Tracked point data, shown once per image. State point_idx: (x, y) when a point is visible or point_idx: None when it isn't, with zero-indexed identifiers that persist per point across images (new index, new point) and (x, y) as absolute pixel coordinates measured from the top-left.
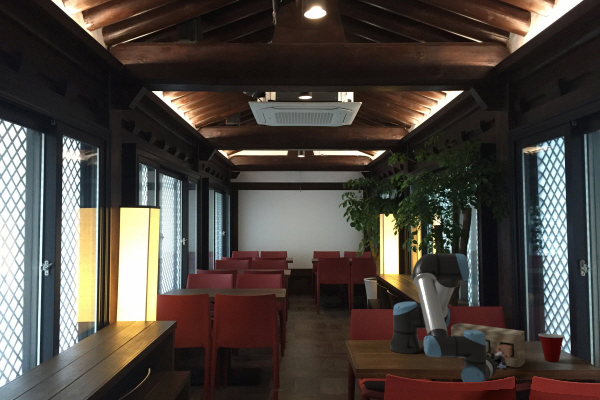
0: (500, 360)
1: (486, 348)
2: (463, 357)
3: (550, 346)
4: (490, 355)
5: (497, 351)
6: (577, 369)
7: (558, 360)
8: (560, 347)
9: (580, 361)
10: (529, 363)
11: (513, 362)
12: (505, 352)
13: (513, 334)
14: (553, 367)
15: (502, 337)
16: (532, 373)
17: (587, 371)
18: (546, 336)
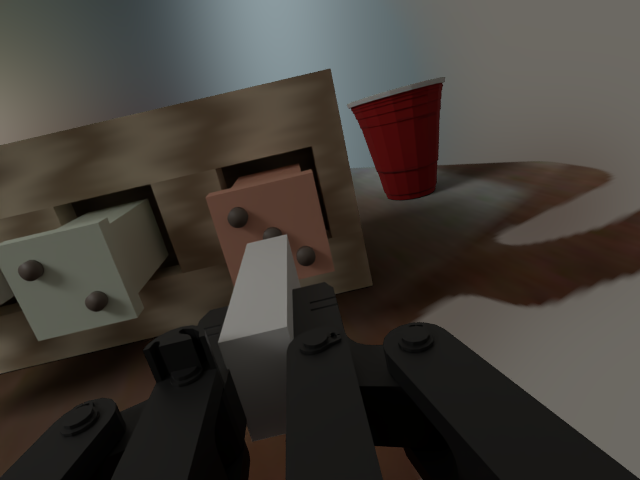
0: (377, 421)
1: (138, 251)
2: (23, 364)
3: (414, 132)
4: (145, 407)
5: (226, 243)
6: (542, 183)
7: (436, 181)
8: (438, 127)
9: (470, 164)
10: (371, 235)
11: (334, 268)
12: (293, 225)
13: (294, 77)
14: (472, 211)
15: (225, 129)
16: (497, 296)
17: (582, 175)
18: (398, 89)
